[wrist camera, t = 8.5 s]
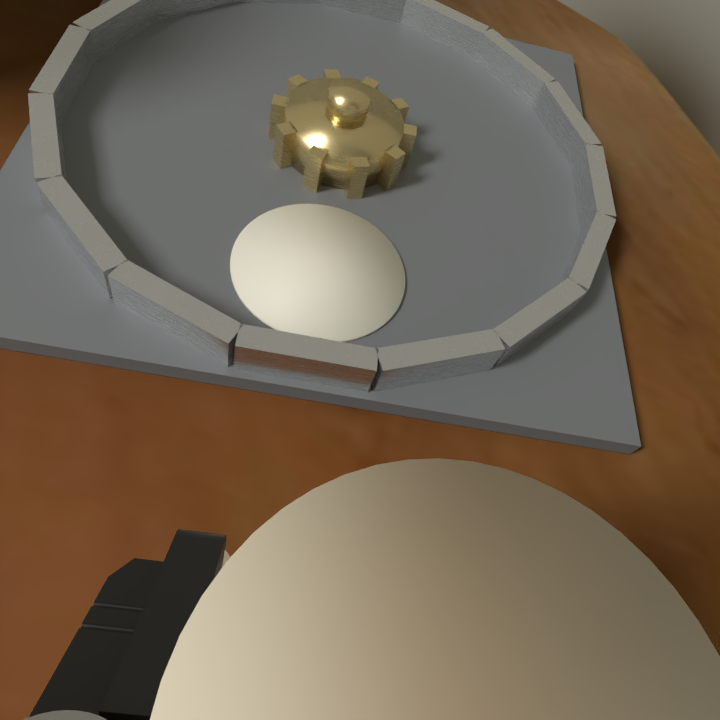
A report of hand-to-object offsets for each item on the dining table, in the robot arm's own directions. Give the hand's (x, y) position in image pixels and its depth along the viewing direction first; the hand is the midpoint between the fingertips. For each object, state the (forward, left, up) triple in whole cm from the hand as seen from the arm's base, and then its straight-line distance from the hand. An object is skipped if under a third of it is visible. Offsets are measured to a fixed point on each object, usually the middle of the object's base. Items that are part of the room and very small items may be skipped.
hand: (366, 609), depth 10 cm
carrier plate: (+1, -29, -16) cm, 33 cm away
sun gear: (+1, -29, -16) cm, 33 cm away
